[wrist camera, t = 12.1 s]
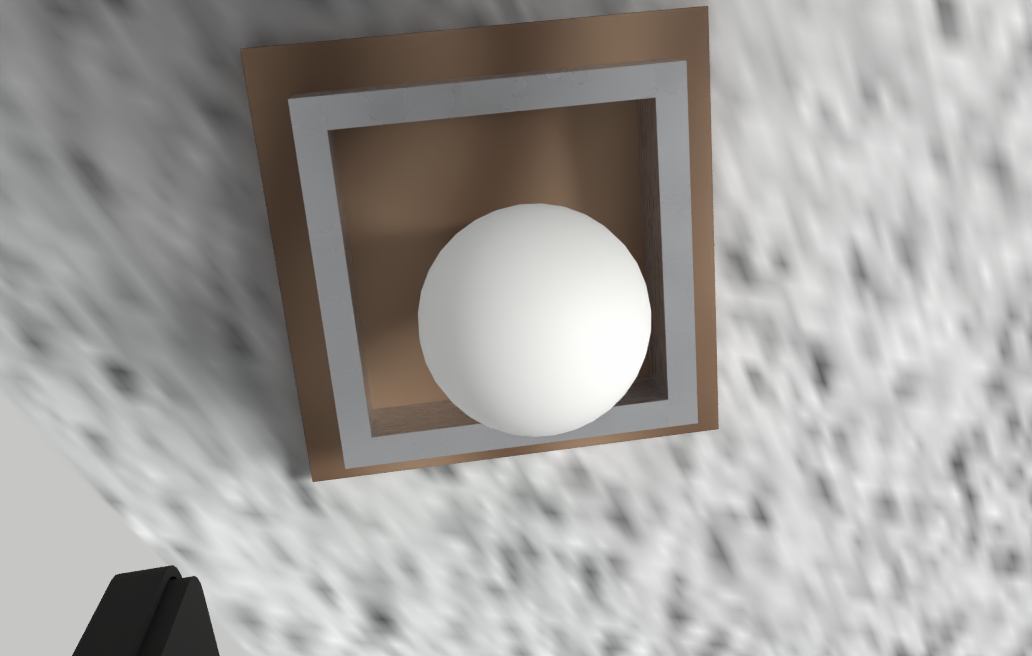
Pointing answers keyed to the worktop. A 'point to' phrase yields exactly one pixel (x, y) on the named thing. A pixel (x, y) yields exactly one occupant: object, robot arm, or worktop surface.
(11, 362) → the worktop surface
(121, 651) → the robot arm
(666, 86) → the square picture frame
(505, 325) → the lightbulb
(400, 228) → the socket base
